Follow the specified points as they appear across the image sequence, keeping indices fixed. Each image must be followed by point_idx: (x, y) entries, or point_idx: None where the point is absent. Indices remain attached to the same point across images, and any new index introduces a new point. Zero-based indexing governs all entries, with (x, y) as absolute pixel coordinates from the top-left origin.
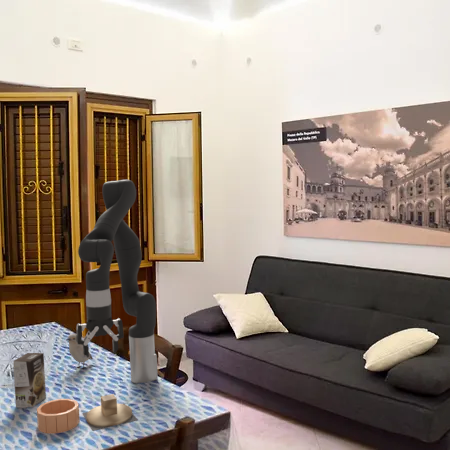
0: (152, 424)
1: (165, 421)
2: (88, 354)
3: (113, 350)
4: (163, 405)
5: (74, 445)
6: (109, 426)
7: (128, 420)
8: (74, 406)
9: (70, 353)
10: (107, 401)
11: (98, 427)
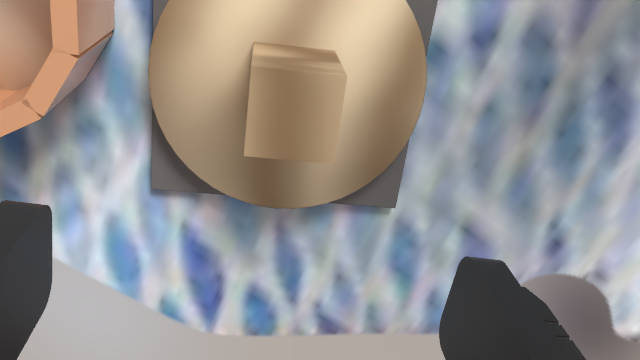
0: (432, 263)
1: None
2: (28, 325)
3: (457, 307)
4: (605, 105)
5: None
6: None
7: None
8: (42, 72)
9: None
10: (268, 155)
11: (189, 172)
